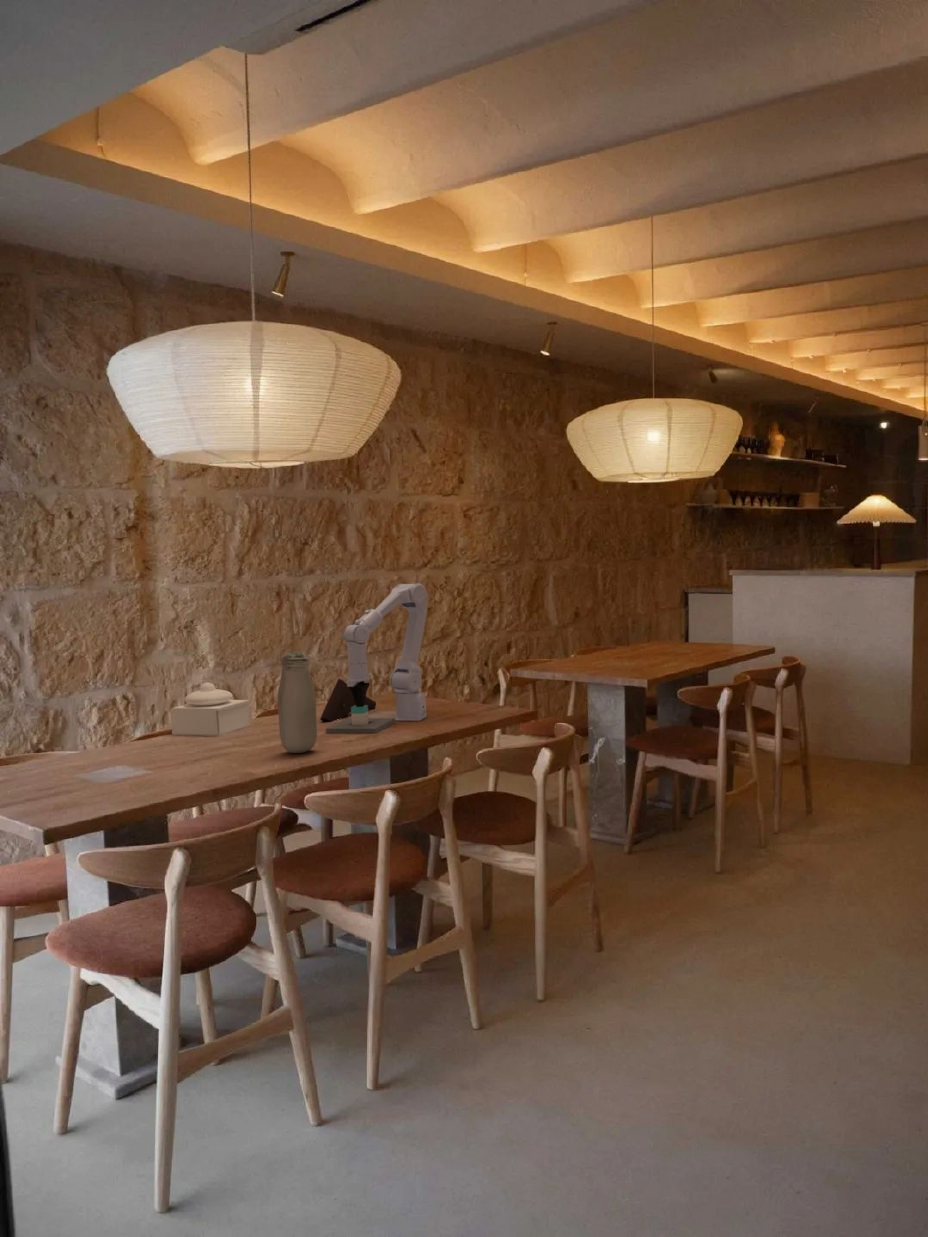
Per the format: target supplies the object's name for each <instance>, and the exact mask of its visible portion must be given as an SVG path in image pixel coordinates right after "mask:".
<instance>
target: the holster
mask: <svg viewBox="0 0 928 1237" xmlns="http://www.w3.org/2000/svg"><path fill="white" fill-rule="evenodd" d="M355 705H356V704H355V701H354V697H353V695H352V693H351V691H350V689H349V687H347V682H345V681H344V680H343V679H341V678H338V679H337V681H336V683H335V686H334V687H333V690H332V692H331V694H330V696H329V698H328V700H327V702H326V705H325V707H324V709H323V711H322V712H321V716H320V718H319V719H320V721H322V722H325V721H324V720H326V721H330V722H335V721H338V720H337V719H339V720H341V719H340V718H342V719H343V718H346V717H347V716H348V715H349V714H351V707H353V706H355ZM364 705H368V710H374V709H375V708H376V706H377V701H375V700H373V699H371V698H370V697H368V696H366V697H365V703H364ZM334 720H335V721H334Z"/></svg>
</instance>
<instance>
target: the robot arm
mask: <svg viewBox="0 0 928 1237" xmlns="http://www.w3.org/2000/svg"><path fill="white" fill-rule="evenodd" d="M428 594H429V593H428V591H427V589H426V588H425V586H424V585H423V584H421V583H418V582H416V583H398V584H397V585H396V586H395V587H394V588H392V589H391V592H390V594H388V595H387V596H386V598H384V599H383V600H382V601H381V603H380V604H379V605H378V606H377V607H376V608H375V609H373V608H371V609H366V610H364V614H363V615H362V616H361V617H360V618H359V619H355V621H354V624H350V625H349V624H348V625H347V626H346V627H345V629H344V632H343V634H342V638H343V640H344V642H345V643H346V644H345V645H346V648H347V660H348V662H347V663H348V676H347V677H345V680H346V684H347V687H349V689H350V691H351V693H352V695H353V697H354V701H355V704H356V707H363V706H364V703H365V697H367V696H366V695H367V692H368V689H369V687H370V682H369V681H370V680H371V676H370V674H369V673H368V657H367V643H366V642H368V641H369V639H370V635H371V634H372V632H374V630H376V629H377V628H378V627H379V626H380V625H381V624H383V617H385V616H386V615H387V614H389V613H390V612H391V611H392V610H394V608H396V607H397V606H398V605H401V606H402V607H403V608H404V609H405V610H406V612H408V614H409V616H408V620H407V624H406V625H407V627H406V631H405V636H404V643H403V646H402V652H401V657H400V661H399V662H398V663H396V664H395V665H394V668H393V671H392V673H391V674H390V676H389V684H390V686H391V688H392V689H393V692H394V694H395V695H394V696H395V711H396V717H394V718H395V722H396V721H404V722H405V721H412V722H413V721H415V722H416V721H418V722H419V721H423V720H424V719H425V718H427V717H428V715H427V702H426V701H427V699H426V694H425V693H424V692H423V691H420V688H421V687H422V683H423V680H422V668H421V667H420V666H419V664H418V661H419V656H420V650H421V647H422V640H423V636H424V630H425V625H426V620H427V615H428V606H427V605H428V604H427V599H428ZM367 681H368V682H367Z"/></svg>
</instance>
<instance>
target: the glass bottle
mask: <svg viewBox="0 0 928 1237" xmlns="http://www.w3.org/2000/svg"><path fill="white" fill-rule="evenodd" d="M277 710H278V724H279V725H278V726H279V738H280V743H281V745H282V747H283V749H285V750H286V751H287V752H289V753H293V754H302V753H307V752H309V751H311V750H312V749H313V748H314V747H315V744H316V742H317V737H318V727H317V726H318V725H317V724H318V723H317V696H316V692H315V687H314V684H313V681H312V677H311V674H310V660H309V658H308V656H307V654H305V652H302V651H292V652H288V653H286V654H285V655H283V657H282V659H281V676H280V682H279V686H278V692H277Z"/></svg>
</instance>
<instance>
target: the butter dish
mask: <svg viewBox="0 0 928 1237" xmlns="http://www.w3.org/2000/svg"><path fill="white" fill-rule="evenodd" d="M233 696H234V695H233V693H232V692H230V691H228V690H225V689H220V688H219V689H218V688H217V689H216V686H215V685H214V684H213V683H212V682H204V683H202V684H201V686H200V689H199V690H197V691H194V692H192V693H189V694H187V695H186V696H185V697H184V701H185V703H186V704H183V705H178V706H175V707H174V706H173V707H171V709H170V722H171V723H170V724H171V735H172V736H191V735H202V736H201V737H221V736H224V735H227V734H230V733H232V732H231V731H234V730H237V729H240V730H242V729H241V728H243V727H246V726H249V725H250V726H251V721H250V718H251V716H250V699H233ZM250 726H249V727H250ZM246 728H247V727H246ZM243 729H244V728H243ZM237 731H238V730H237ZM229 732H230V733H229ZM234 732H235V731H234ZM203 735H204V736H203ZM220 735H221V736H220Z"/></svg>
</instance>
